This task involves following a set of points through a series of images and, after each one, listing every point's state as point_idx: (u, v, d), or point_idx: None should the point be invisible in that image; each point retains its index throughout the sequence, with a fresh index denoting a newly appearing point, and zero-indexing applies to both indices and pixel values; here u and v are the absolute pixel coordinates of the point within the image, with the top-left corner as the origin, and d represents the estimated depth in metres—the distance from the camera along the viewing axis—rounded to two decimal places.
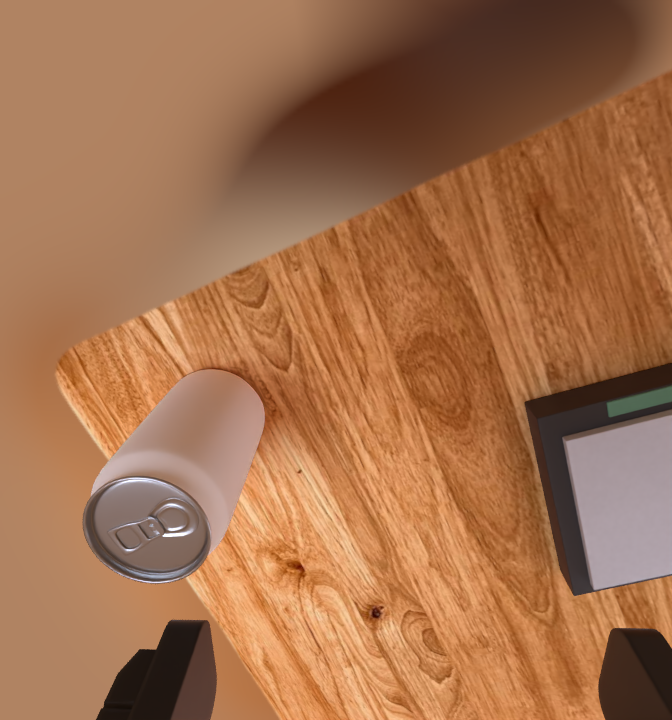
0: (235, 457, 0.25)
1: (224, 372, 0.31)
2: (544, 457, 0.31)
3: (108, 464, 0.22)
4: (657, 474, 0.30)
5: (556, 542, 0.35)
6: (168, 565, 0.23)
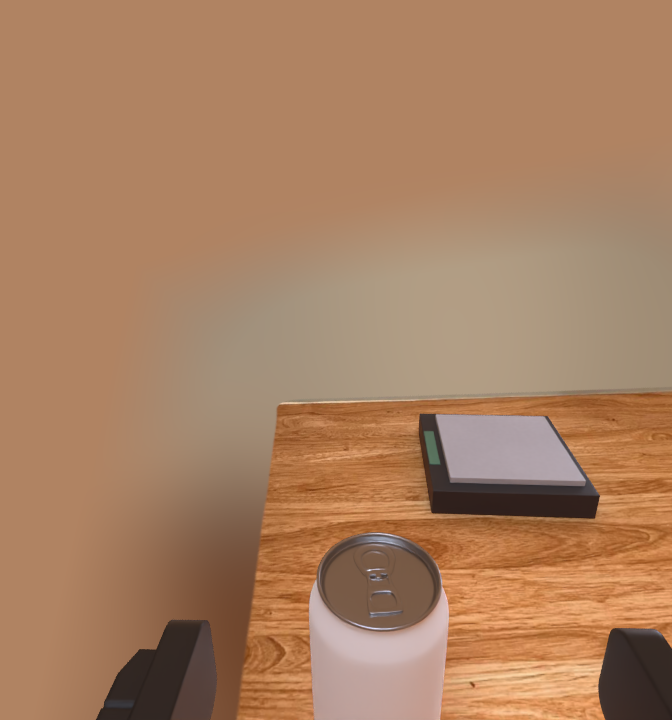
0: None
1: None
2: (466, 493, 0.44)
3: (312, 618, 0.22)
4: (483, 448, 0.49)
5: (558, 511, 0.44)
6: (426, 583, 0.23)
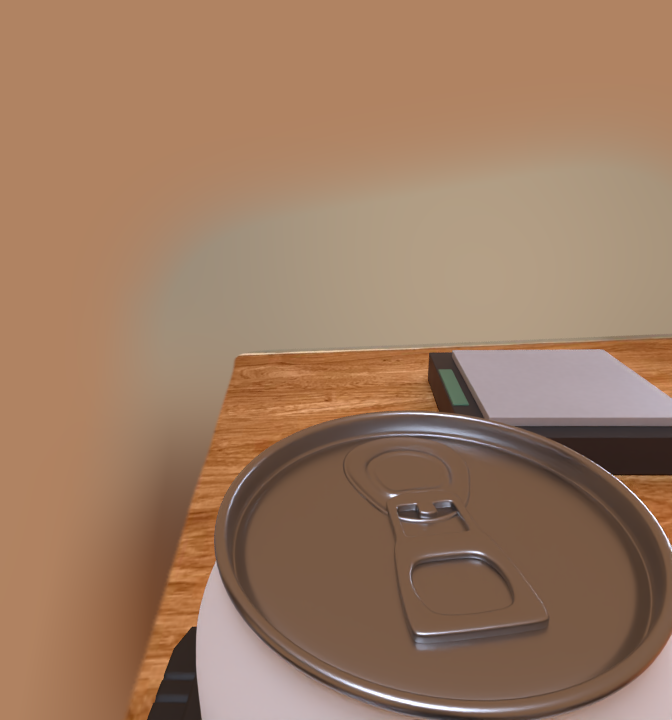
0: None
1: None
2: None
3: (198, 659, 0.06)
4: (529, 383, 0.33)
5: (659, 465, 0.28)
6: (591, 527, 0.07)
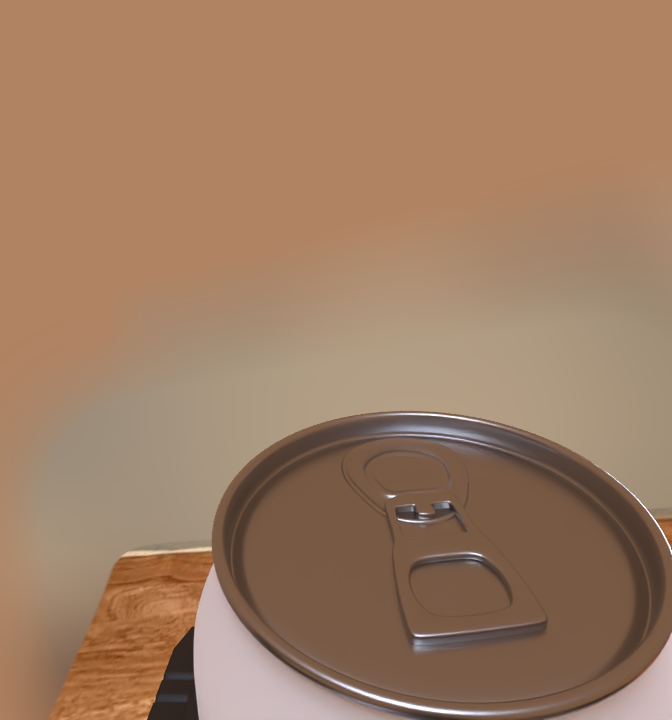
0: None
1: None
2: None
3: (195, 661, 0.06)
4: None
5: None
6: (589, 528, 0.07)
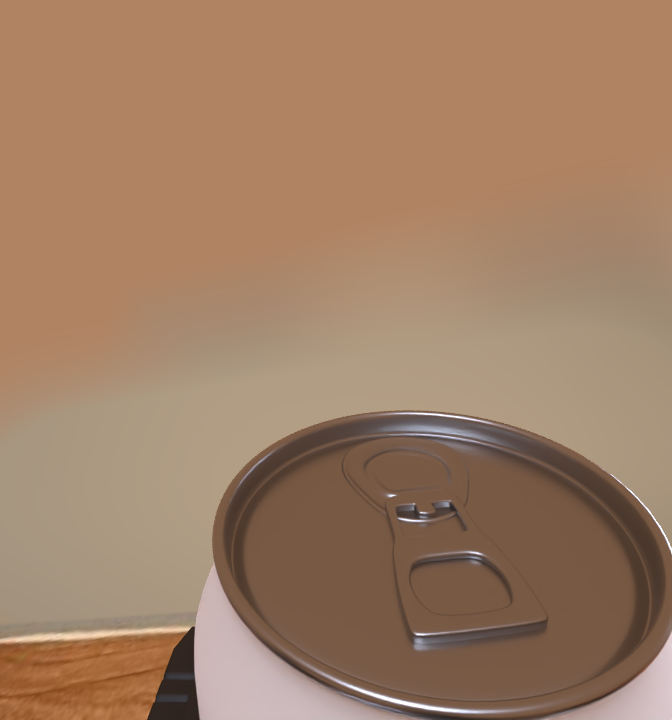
0: None
1: None
2: None
3: (196, 660, 0.06)
4: None
5: None
6: (590, 527, 0.07)
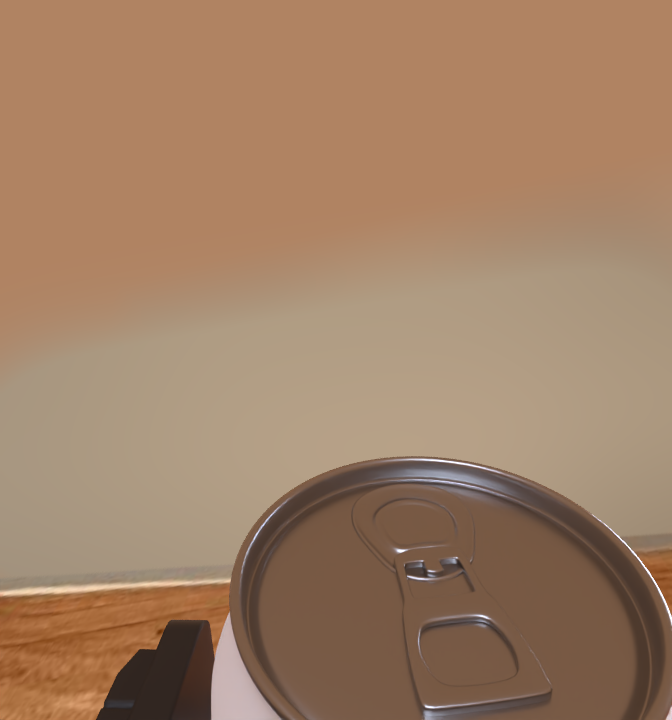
0: None
1: None
2: None
3: (213, 717, 0.06)
4: None
5: None
6: (593, 587, 0.07)
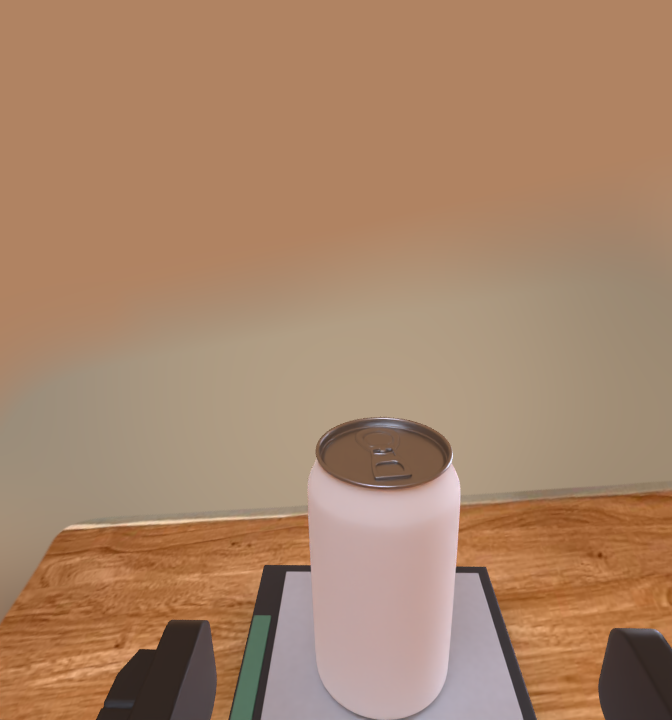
0: None
1: None
2: None
3: (311, 494, 0.20)
4: None
5: None
6: (435, 455, 0.21)
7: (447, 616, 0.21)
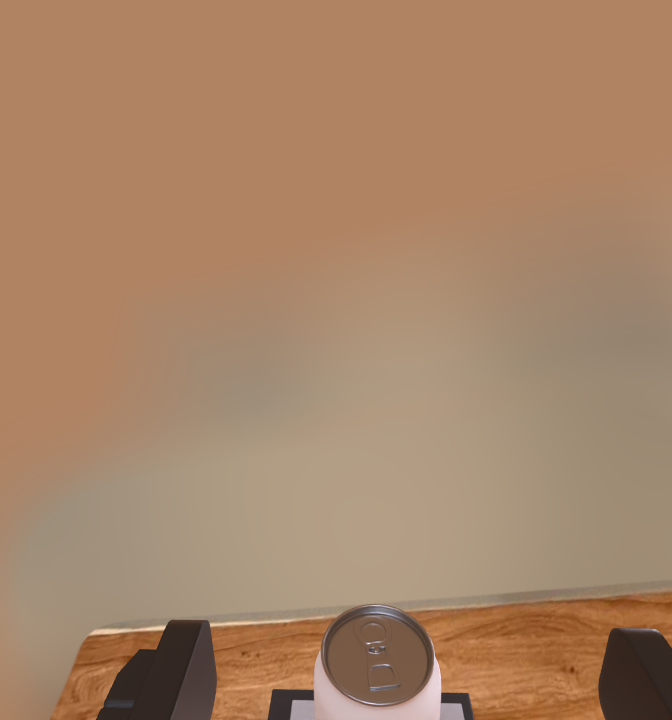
0: None
1: None
2: None
3: (317, 691, 0.24)
4: None
5: None
6: (420, 655, 0.25)
7: None
